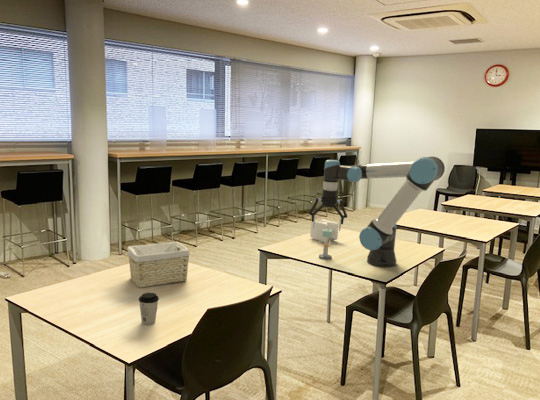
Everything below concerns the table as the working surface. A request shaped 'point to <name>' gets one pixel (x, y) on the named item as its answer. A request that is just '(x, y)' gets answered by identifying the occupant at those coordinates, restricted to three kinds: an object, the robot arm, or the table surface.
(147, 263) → the storage basket
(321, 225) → the cable organizer
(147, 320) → the coffee cup
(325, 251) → the post
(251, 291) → the table surface
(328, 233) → the sleeve
